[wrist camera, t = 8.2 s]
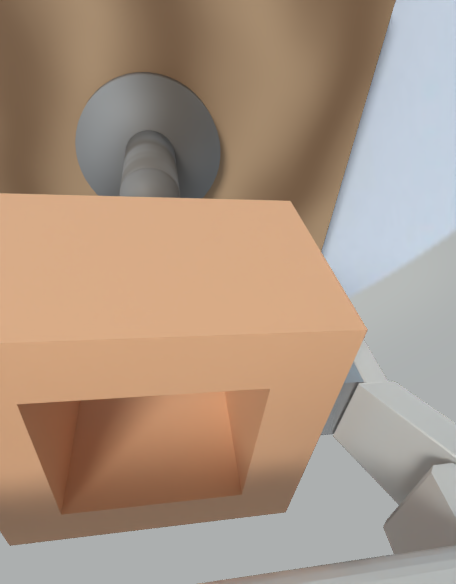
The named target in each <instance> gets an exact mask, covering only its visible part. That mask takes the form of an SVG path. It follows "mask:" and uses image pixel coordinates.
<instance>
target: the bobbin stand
mask: <svg viewBox="0 0 456 584" xmlns="http://www.w3.org/2000/svg"><path fill="white" fill-rule="evenodd" d="M395 1H396V0H0V193H11V194H49V195H87V196H125V197H163V198H201V199H239V200H277V201H291V203H292V204H293V206H294V208H295V209H296V211H297V213H298V214H299V216H300V218H301V219H302V221H303V223H304V224H305V226H306V228H307V229H308V231H309V233H310V234H311V236H312V238H313V239H314V241H315V243H316V244H317V246H318V248H319V249H320V251H321V250H322V247H323V244H324V240H325V237H326V233H327V230H328V227H329V223H330V220H331V217H332V213H333V210H334V207H335V203H336V200H337V196H338V193H339V190H340V186H341V183H342V180H343V176H344V173H345V169H346V166H347V163H348V159H349V156H350V153H351V149H352V146H353V142H354V139H355V136H356V132H357V129H358V126H359V122H360V119H361V115H362V112H363V109H364V105H365V102H366V99H367V95H368V92H369V88H370V85H371V82H372V78H373V75H374V72H375V68H376V65H377V61H378V58H379V55H380V51H381V48H382V45H383V41H384V38H385V34H386V31H387V28H388V24H389V21H390V18H391V14H392V11H393V7H394V4H395Z"/></svg>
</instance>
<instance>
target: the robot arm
mask: <svg viewBox="0 0 456 584" xmlns="http://www.w3.org/2000/svg"><path fill="white" fill-rule="evenodd" d="M326 434H334V435H333V437H334V438H335V439H336V440H337V441H338V442H339V443H340V444H341V445H342V446H343V447H344V448H345V449H346V450H347V451H348V452H349V453H350V454H351V455H352V456H353V457H354V458H355V459H356V461H357V462H358V463H359V464H360V465H361V466H362V467H363V468H364V469H365V470H366V471H367V472H368V473H369V474H370V475H371V476H372V477H373V478H374V479H375V480H376V482H377V483H378V484H379V485H380V486H381V487H382V488H383V489H384V490H385V491H386V492H387V493H388V494H389V495H390V496H391V497H392V498H393V499H394V500H395V501H396V502H397V503H398V505H399V506H398V508H396V510H395V511H394V512H393V513H392V514H391V516H390V517H389V518H388V519H387V520H386V522H385V525H384V527H383V528H384V530H385V533H386V535H387V538H388V540H389V543H390V545H391V548H392V550H393V553H394V554H393V555H386V556H380V557H374V558H366V559H360V560H354V561H346V562H340V563H333V564H326V565H320V566H313V567H306V568H300V569H293V570H287V571H279V572H273V573H267V574H260V575H253V576H247V577H239V578H233V579H226V580H220V581H213V582H206V583H199V584H456V423H454V422H453V421H451V420H450V419H448V418H447V417H446V416H444V415H443V414H441V413H440V412H438V411H437V410H436V409H434V408H432V407H431V406H430V405H428V404H427V403H425V402H424V401H423V400H421V399H420V398H418V397H417V396H415V395H414V394H412V393H411V392H409V391H408V390H407V389H405V388H404V387H402V386H401V385H400V384H398V383H397V382H395V381H388V380H387V378H386V376H385V375H384V373H383V371H382V369H381V368H380V366H379V365H378V363H377V361H376V359H375V358H374V356H373V354H372V352H371V351H370V349H369V347H368V346H367V344H366V342H365V340H364V339H363V341H362V344H361V346H360V348H359V350H358V353H357V355H356V357H355V359H354V361H353V364H352V366H351V368H350V370H349V373H348V375H347V377H346V379H345V381H344V384H343V386H342V388H341V390H340V393H339V395H338V397H337V399H336V401H335V404H334V406H333V408H332V410H331V413H330V415H329V417H328V419H327V421H326V424H325V426H324V428H323V430H322V433H321V435H326Z"/></svg>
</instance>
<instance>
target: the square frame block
mask: <svg viewBox="0 0 456 584" xmlns="http://www.w3.org/2000/svg"><path fill="white" fill-rule="evenodd" d="M366 332H367V328H366V326H365V325H364V323H363V321H362V320H361V318H360V316H359V315H358V313H357V312H356V310H355V308H354V306H353V305H352V303H351V301H350V300H349V298H348V296H347V295H346V293H345V291H344V290H343V288H342V286H341V285H340V283H339V281H338V280H337V278H336V276H335V275H334V273H333V271H332V269H331V268H330V266H329V264H328V263H327V261H326V259H325V258H324V256H323V254H322V253H321V251H320V249H319V248H318V246H317V244H316V243H315V241H314V239H313V238H312V236H311V234H310V233H309V231H308V229H307V228H306V226H305V224H304V223H303V221H302V219H301V218H300V216H299V214H298V213H297V211H296V209H295V208H294V206H293V204H292V203H291V201H277V200H239V199H201V198H163V197H125V196H87V195H49V194H11V193H0V531H1V533H2V535H3V536H4V538H5V539H6V541H7V542H8V544H9V545H10V546H11V545H19V544H28V543H35V542H44V541H52V540H61V539H68V538H77V537H86V536H93V535H102V534H110V533H119V532H127V531H135V530H143V529H152V528H160V527H168V526H177V525H185V524H193V523H201V522H210V521H218V520H226V519H235V518H243V517H251V516H259V515H268V514H276V513H284V512H286V510H287V508H288V506H289V504H290V502H291V499H292V497H293V495H294V493H295V490H296V488H297V486H298V484H299V482H300V479H301V477H302V475H303V473H304V470H305V468H306V466H307V464H308V461H309V459H310V457H311V455H312V453H313V450H314V448H315V446H316V444H317V442H318V439H319V437H320V435H321V433H322V430H323V428H324V426H325V424H326V421H327V419H328V417H329V415H330V413H331V410H332V408H333V406H334V404H335V401H336V399H337V397H338V395H339V393H340V390H341V388H342V386H343V384H344V381H345V379H346V377H347V375H348V373H349V370H350V368H351V366H352V364H353V361H354V359H355V357H356V355H357V353H358V350H359V348H360V346H361V344H362V341H363V339H364V337H365V334H366Z"/></svg>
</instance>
